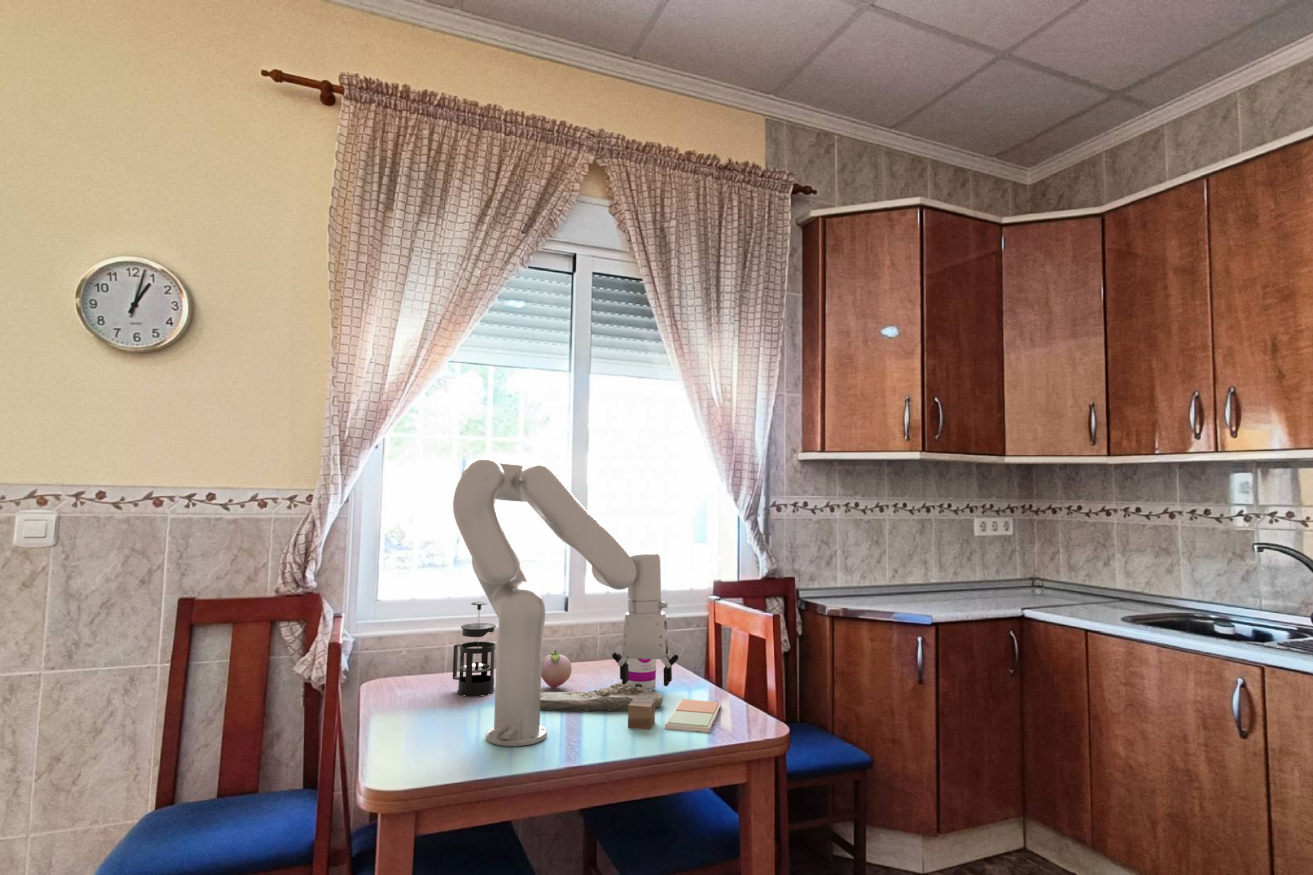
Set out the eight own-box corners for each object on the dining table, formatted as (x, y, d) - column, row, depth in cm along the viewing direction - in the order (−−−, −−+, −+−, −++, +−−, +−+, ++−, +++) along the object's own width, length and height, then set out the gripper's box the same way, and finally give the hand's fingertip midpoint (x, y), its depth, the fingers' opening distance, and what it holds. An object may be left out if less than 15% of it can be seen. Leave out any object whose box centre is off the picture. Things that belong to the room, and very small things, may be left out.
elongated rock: (522, 706, 178) (516, 721, 168) (521, 685, 178) (516, 698, 168) (661, 699, 180) (664, 712, 170) (660, 678, 180) (663, 690, 170)
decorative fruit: (575, 691, 187) (576, 652, 187) (544, 694, 184) (545, 654, 184) (566, 682, 195) (567, 645, 196) (536, 685, 192) (537, 647, 193)
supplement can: (660, 692, 187) (661, 634, 189) (630, 695, 184) (631, 635, 186) (649, 684, 195) (650, 629, 196) (620, 687, 192) (621, 630, 193)
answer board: (709, 732, 155) (709, 726, 155) (664, 728, 157) (664, 722, 158) (721, 707, 175) (721, 701, 175) (681, 703, 177) (681, 698, 177)
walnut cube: (649, 730, 157) (650, 706, 157) (627, 728, 158) (628, 704, 158) (654, 723, 162) (655, 700, 162) (633, 721, 163) (633, 698, 163)
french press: (502, 688, 188) (505, 600, 190) (486, 698, 179) (490, 605, 181) (462, 685, 191) (465, 598, 193) (444, 694, 182) (448, 603, 184)
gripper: (684, 605, 164) (686, 680, 163) (612, 603, 168) (613, 677, 166) (678, 610, 157) (680, 689, 155) (603, 608, 160) (604, 686, 159)
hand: (645, 683), depth 161 cm, fingers open, 9 cm apart
